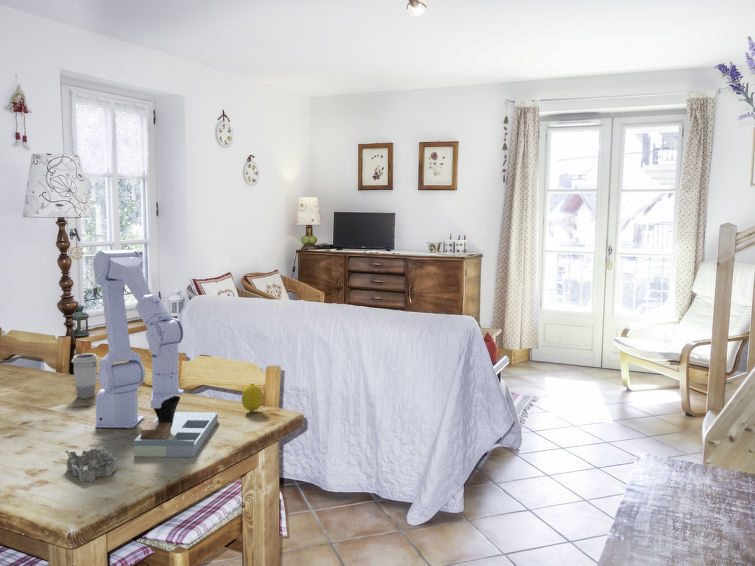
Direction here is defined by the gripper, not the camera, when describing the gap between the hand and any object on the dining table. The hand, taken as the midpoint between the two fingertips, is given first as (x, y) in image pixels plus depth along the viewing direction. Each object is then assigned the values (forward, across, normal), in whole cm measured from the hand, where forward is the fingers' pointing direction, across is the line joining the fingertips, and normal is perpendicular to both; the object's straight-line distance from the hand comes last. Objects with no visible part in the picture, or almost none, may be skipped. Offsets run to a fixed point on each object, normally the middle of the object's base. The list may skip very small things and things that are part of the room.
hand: (166, 428), depth 140 cm
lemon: (+4, +23, -16) cm, 28 cm away
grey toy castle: (+4, -15, +11) cm, 19 cm away
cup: (+4, +35, +34) cm, 49 cm away
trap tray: (+3, +4, -2) cm, 5 cm away
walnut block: (+1, -4, +1) cm, 4 cm away
